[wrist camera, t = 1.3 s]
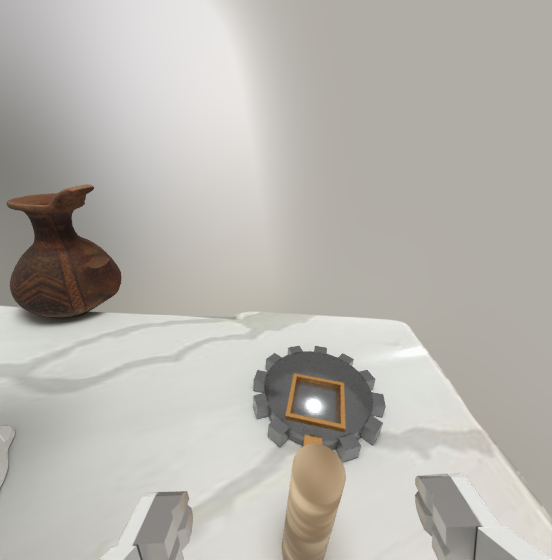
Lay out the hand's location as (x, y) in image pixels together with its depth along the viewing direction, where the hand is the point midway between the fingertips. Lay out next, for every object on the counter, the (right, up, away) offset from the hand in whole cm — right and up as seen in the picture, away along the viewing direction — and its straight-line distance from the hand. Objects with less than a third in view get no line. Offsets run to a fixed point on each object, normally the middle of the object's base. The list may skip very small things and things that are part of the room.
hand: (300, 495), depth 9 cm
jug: (-52, +1, +59) cm, 79 cm away
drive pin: (+2, -21, +19) cm, 28 cm away
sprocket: (+6, -13, +37) cm, 39 cm away
